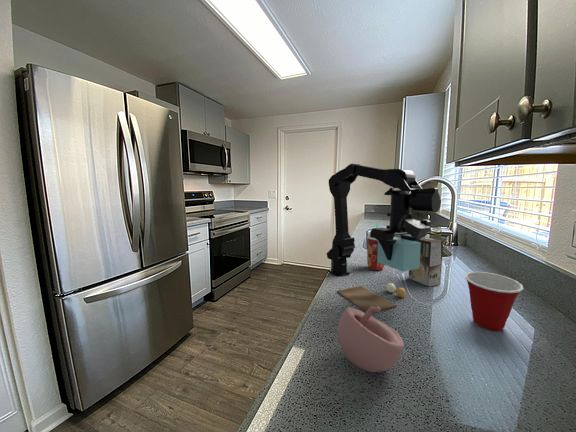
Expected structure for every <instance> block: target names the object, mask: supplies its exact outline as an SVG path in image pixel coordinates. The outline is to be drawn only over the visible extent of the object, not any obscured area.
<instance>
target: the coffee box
mask: <svg viewBox="0 0 576 432" xmlns="http://www.w3.org/2000/svg"><path fill="white" fill-rule="evenodd" d="M416 242H420V243H421V248H420V263H419V268H418V269H413V270H408V279H410V280H412V281H415V282H417V283H420V284H422V285H424V286H426V287H434V286H440V285H441V282H442V281H441V280H442V268H443V253H444V252H443V251H444V240H440V239H435V238H431V237H427V236H425V237H422V238H421V239H419V240H417V241H416Z"/></svg>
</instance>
